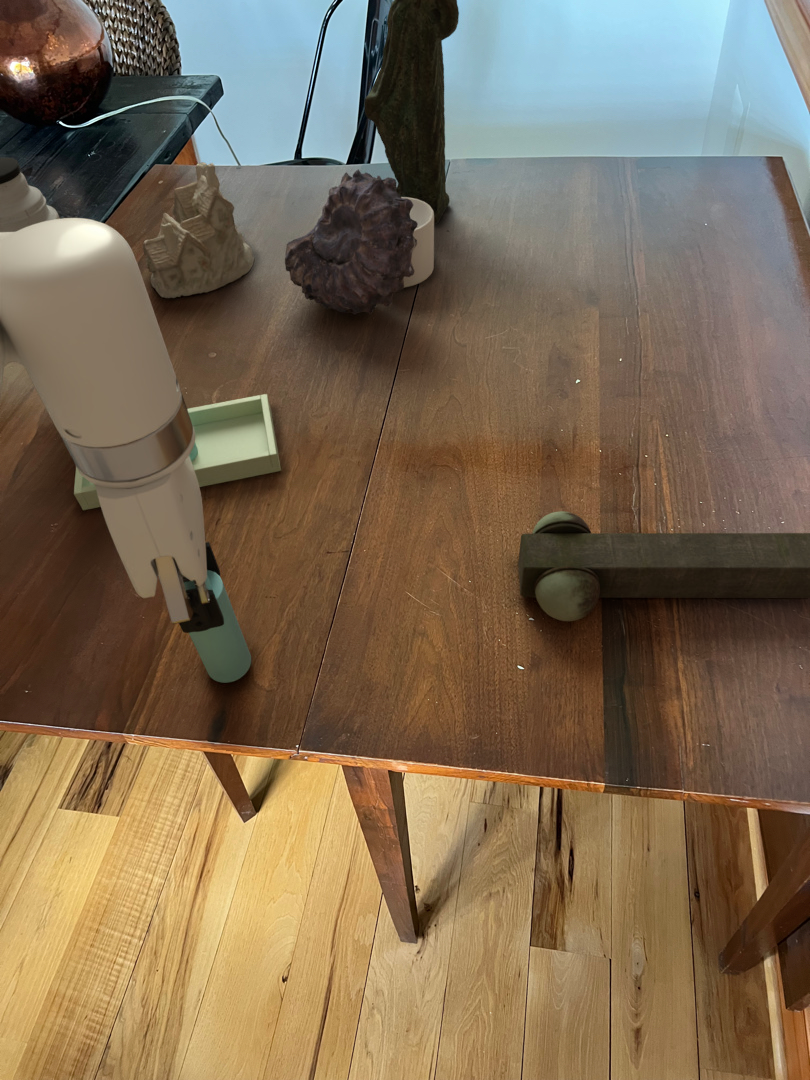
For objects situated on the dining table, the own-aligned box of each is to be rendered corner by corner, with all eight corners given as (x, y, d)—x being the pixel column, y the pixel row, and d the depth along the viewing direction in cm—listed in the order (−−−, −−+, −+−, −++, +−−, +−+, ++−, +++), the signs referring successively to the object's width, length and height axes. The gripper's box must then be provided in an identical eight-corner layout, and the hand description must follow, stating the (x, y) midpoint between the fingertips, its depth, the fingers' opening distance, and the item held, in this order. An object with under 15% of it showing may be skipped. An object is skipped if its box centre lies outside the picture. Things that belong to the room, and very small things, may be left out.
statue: (463, 196, 123) (462, -80, 96) (458, 226, 117) (455, -59, 90) (374, 196, 125) (348, -74, 98) (364, 226, 119) (334, -53, 92)
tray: (83, 510, 83) (73, 493, 81) (87, 445, 90) (79, 429, 88) (281, 471, 85) (276, 453, 83) (271, 410, 92) (266, 393, 90)
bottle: (207, 687, 67) (157, 585, 56) (205, 649, 70) (157, 544, 59) (253, 677, 68) (212, 574, 56) (249, 640, 70) (210, 534, 59)
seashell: (325, 266, 111) (329, 354, 106) (260, 214, 101) (261, 307, 96) (439, 199, 101) (449, 292, 95) (379, 133, 91) (387, 233, 85)
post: (826, 537, 75) (515, 537, 76) (849, 497, 70) (519, 498, 72) (867, 635, 67) (522, 633, 69) (895, 597, 63) (526, 596, 65)
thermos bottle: (107, 365, 100) (8, 141, 78) (142, 389, 96) (49, 160, 75) (53, 397, 96) (-66, 171, 75) (88, 423, 92) (-27, 193, 71)
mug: (450, 262, 110) (449, 207, 104) (407, 298, 105) (403, 242, 99) (376, 239, 116) (371, 185, 110) (332, 271, 111) (324, 217, 105)
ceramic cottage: (236, 225, 121) (206, 128, 109) (266, 278, 112) (237, 178, 100) (140, 257, 119) (99, 161, 107) (163, 314, 109) (120, 216, 97)
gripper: (75, 360, 53) (155, 535, 67) (56, 540, 42) (156, 704, 56) (185, 341, 53) (241, 518, 67) (195, 514, 43) (259, 681, 57)
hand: (202, 601), depth 61 cm, fingers closed on bottle, 4 cm apart
